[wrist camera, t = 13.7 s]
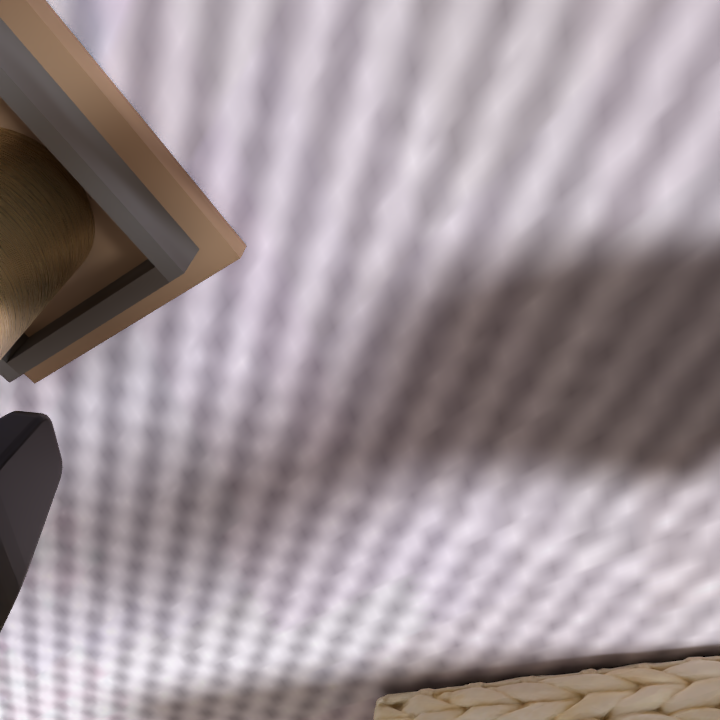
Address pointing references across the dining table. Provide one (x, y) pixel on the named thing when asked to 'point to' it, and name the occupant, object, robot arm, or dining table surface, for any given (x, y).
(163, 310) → the dining table surface
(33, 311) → the billet
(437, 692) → the storage basket
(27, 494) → the robot arm
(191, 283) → the square brown tray
